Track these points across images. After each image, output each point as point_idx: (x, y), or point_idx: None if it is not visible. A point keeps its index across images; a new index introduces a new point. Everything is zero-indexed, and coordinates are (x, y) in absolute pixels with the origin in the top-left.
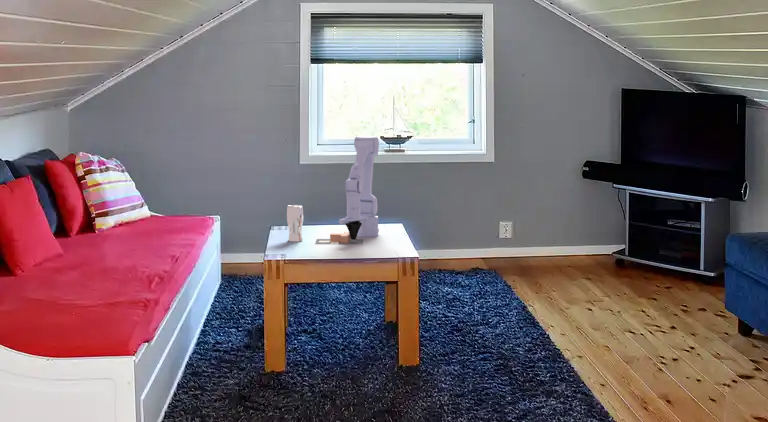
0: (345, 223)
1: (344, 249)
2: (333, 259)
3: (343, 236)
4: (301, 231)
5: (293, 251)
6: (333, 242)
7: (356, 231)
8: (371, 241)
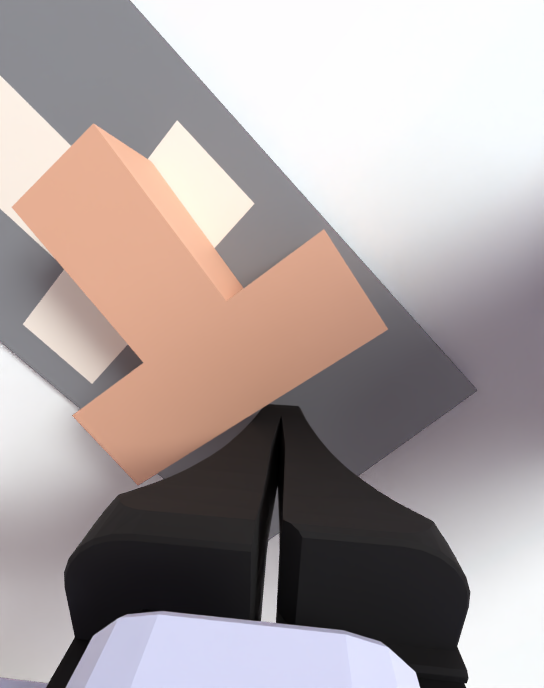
0: (93, 526)
1: (27, 541)
2: None
3: (103, 444)
4: None
5: None
6: (83, 301)
7: (279, 554)
8: (454, 489)
